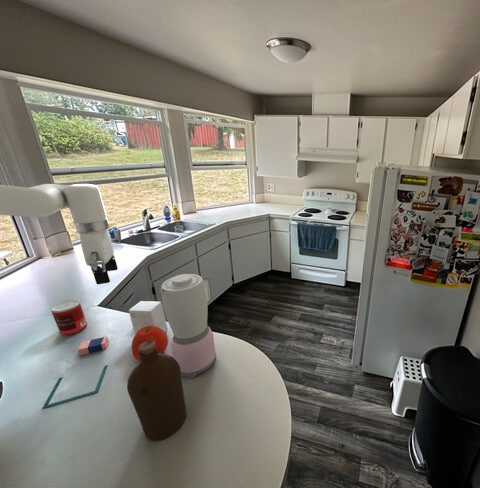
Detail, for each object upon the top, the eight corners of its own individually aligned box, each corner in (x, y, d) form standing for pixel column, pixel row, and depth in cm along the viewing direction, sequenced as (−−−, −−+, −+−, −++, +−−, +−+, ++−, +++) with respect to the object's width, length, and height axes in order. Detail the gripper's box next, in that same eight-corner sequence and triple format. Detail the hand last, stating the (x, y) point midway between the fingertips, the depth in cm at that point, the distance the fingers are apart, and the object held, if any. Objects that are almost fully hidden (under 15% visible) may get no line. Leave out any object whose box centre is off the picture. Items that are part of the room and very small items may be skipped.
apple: (172, 340, 93) (167, 317, 89) (165, 361, 84) (159, 336, 80) (140, 346, 90) (133, 321, 86) (129, 368, 80) (121, 342, 77)
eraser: (79, 355, 84) (77, 349, 84) (84, 347, 88) (81, 341, 87) (106, 349, 88) (104, 343, 87) (109, 341, 91) (107, 336, 90)
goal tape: (42, 409, 67) (41, 408, 67) (59, 378, 76) (59, 378, 76) (97, 392, 72) (97, 391, 72) (107, 365, 81) (107, 365, 81)
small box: (168, 329, 98) (161, 301, 94) (157, 341, 92) (150, 311, 88) (147, 329, 98) (140, 300, 94) (135, 340, 92) (127, 310, 88)
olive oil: (194, 423, 65) (179, 346, 56) (146, 454, 58) (120, 372, 50) (182, 395, 72) (167, 324, 64) (138, 420, 65) (114, 343, 57)
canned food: (84, 320, 102) (76, 297, 98) (90, 328, 97) (82, 304, 94) (58, 330, 96) (48, 305, 92) (63, 339, 91) (53, 313, 88)
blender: (195, 384, 76) (177, 292, 65) (166, 371, 80) (145, 283, 69) (231, 349, 90) (222, 269, 79) (205, 340, 94) (193, 262, 83)
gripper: (86, 220, 81) (101, 268, 87) (64, 235, 67) (83, 291, 73) (115, 218, 84) (127, 264, 90) (100, 232, 70) (115, 286, 76)
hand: (108, 276), depth 81 cm, fingers open, 9 cm apart
